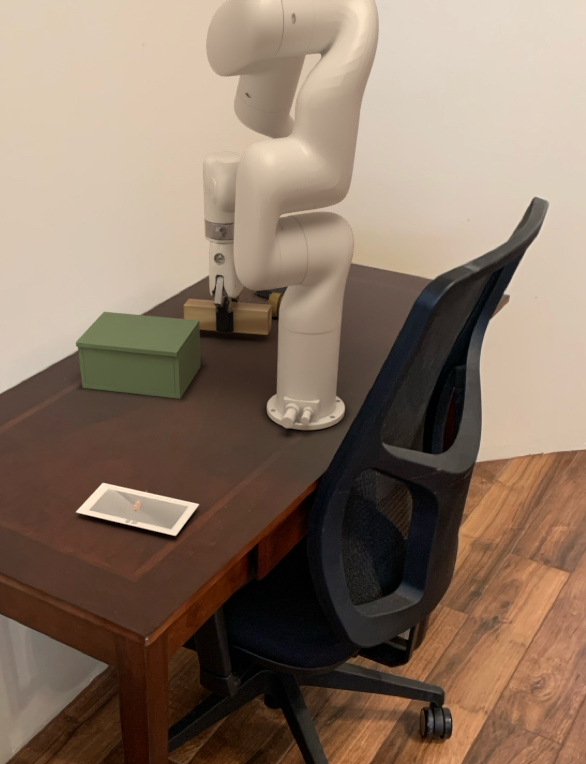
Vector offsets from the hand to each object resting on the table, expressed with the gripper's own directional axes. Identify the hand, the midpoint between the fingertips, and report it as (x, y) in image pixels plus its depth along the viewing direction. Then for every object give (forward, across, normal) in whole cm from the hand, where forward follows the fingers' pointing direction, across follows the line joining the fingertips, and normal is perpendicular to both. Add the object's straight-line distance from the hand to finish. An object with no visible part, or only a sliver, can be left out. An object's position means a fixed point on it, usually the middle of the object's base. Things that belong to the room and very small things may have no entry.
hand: (227, 326), depth 169 cm
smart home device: (+1, +29, -8) cm, 30 cm away
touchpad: (+4, -59, -3) cm, 60 cm away
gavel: (+2, +20, -12) cm, 23 cm away
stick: (0, 0, 0) cm, 0 cm away
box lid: (-5, -20, +10) cm, 23 cm away
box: (+2, -19, +10) cm, 22 cm away
